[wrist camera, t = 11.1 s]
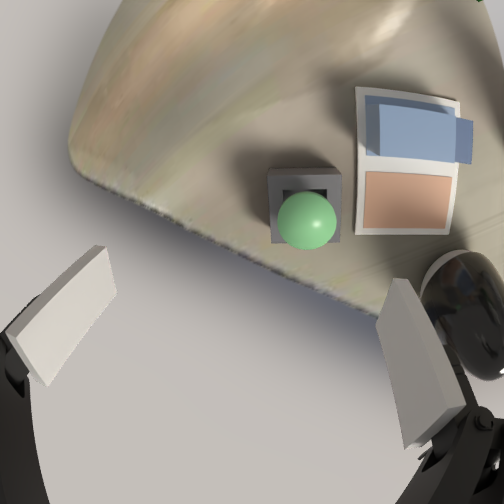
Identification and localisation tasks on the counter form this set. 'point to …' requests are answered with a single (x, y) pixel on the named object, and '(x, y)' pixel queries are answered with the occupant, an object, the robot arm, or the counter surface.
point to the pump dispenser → (467, 310)
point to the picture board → (402, 176)
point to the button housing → (302, 180)
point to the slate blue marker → (418, 134)
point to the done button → (306, 220)
